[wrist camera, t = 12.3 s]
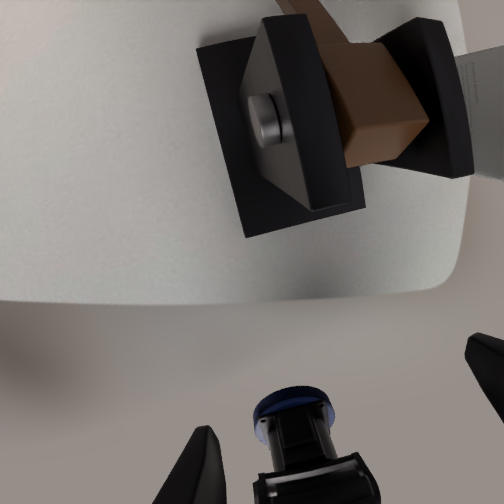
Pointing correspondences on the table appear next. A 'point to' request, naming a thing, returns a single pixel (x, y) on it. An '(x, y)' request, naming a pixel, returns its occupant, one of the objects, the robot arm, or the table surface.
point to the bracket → (320, 120)
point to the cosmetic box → (485, 108)
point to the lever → (363, 90)
